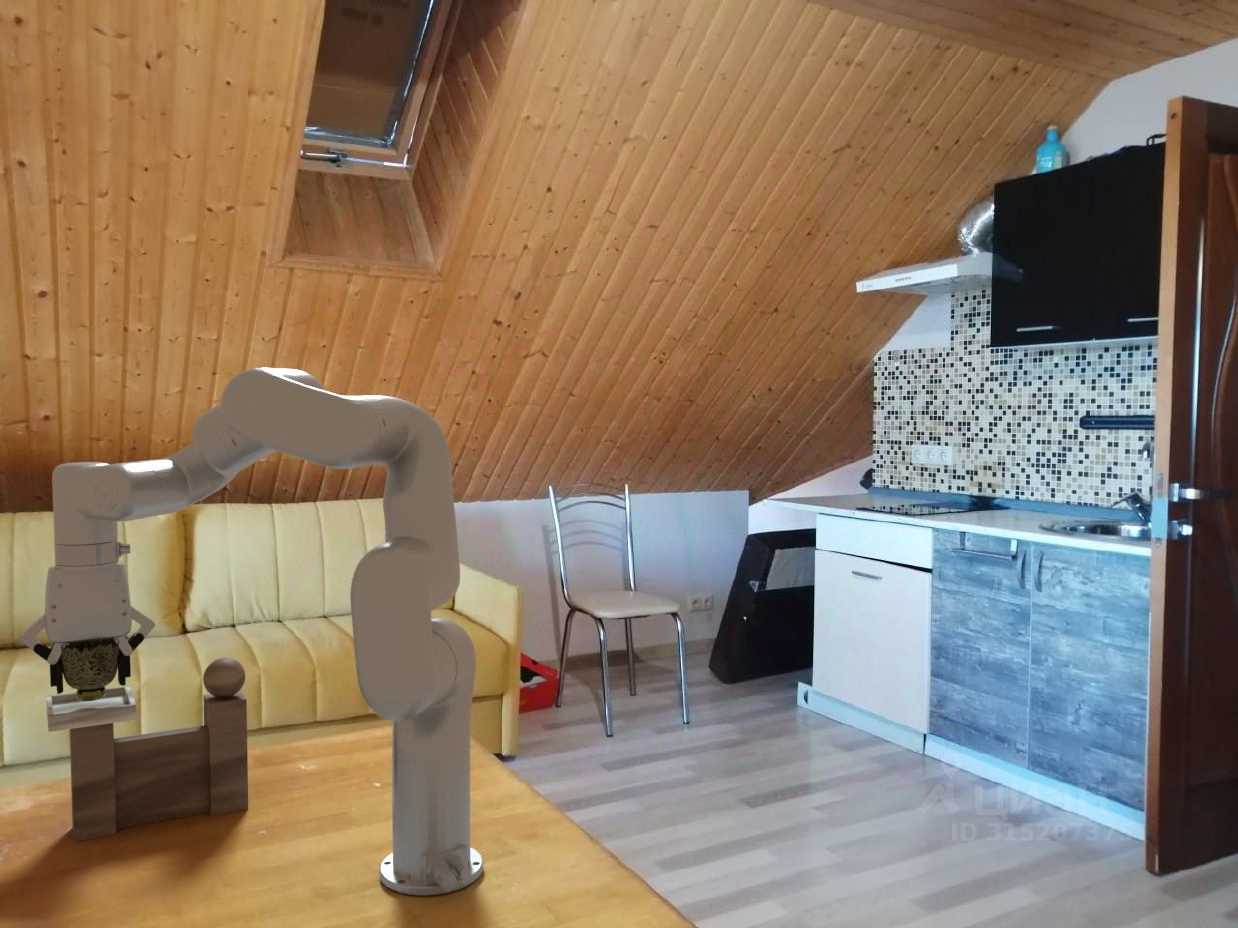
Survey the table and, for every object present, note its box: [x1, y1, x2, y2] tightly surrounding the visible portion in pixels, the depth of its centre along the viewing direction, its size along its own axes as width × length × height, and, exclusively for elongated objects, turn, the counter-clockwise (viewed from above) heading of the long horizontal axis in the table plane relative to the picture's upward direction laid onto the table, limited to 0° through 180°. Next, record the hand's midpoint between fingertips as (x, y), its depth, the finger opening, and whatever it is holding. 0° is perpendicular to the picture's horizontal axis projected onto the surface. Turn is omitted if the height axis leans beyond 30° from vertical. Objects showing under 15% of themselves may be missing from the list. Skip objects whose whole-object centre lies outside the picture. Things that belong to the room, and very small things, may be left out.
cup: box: [60, 638, 120, 701], centre depth 137 cm, size 8×7×8 cm
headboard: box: [45, 657, 249, 843], centre depth 141 cm, size 10×25×22 cm, turn 120°
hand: (91, 685), depth 137 cm, fingers closed on cup, 6 cm apart
